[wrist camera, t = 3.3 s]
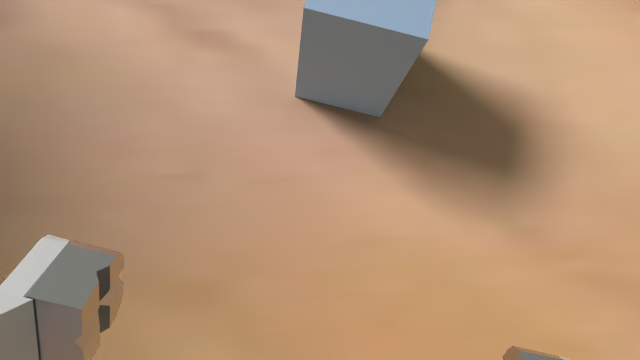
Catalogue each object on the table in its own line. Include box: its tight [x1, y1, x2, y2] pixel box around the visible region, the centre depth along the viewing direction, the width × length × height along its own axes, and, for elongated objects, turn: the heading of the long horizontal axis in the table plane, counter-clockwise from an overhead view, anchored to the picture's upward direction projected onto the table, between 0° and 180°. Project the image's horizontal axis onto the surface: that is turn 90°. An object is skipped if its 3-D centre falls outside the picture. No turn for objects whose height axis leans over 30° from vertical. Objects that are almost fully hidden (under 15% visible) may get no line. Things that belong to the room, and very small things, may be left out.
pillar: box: [295, 0, 436, 118], centre depth 24 cm, size 4×4×9 cm
